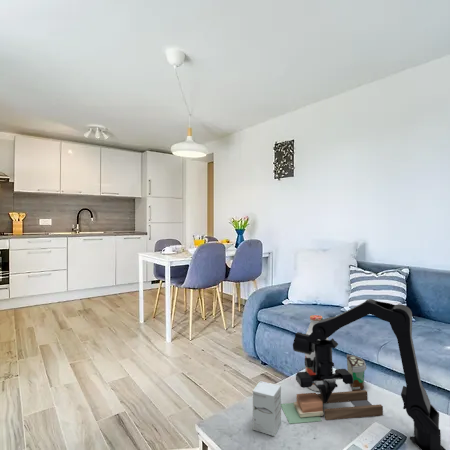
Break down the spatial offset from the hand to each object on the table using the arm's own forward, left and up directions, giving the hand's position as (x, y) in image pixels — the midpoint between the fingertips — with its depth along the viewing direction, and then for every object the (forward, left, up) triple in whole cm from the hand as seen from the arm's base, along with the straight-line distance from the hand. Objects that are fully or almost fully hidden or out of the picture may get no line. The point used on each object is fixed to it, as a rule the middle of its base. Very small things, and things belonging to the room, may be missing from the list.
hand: (324, 402), depth 106 cm
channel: (0, -8, -3) cm, 9 cm away
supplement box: (-6, +22, -3) cm, 23 cm away
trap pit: (0, -15, -3) cm, 15 cm away
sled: (0, +6, -3) cm, 7 cm away
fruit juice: (+16, -4, -3) cm, 17 cm away
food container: (+14, -20, -3) cm, 25 cm away
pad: (0, +9, -3) cm, 9 cm away
